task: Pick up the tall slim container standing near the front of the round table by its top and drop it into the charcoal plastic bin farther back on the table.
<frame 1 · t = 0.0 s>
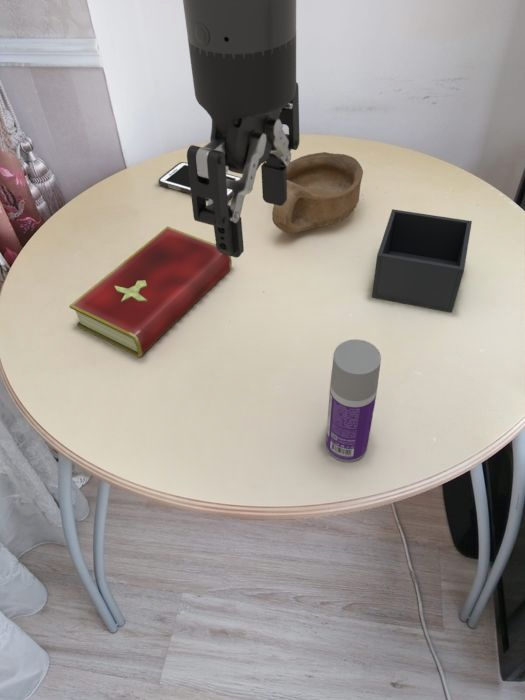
hand: (254, 226, 50), 25 cm above the table, tool pointing down, fingers open, 8 cm apart
cell phone: (202, 185, 103), on the table
hardcover book: (158, 298, 83), on the table
container: (346, 445, 64), on the table
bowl: (313, 220, 94), on the table
bin: (417, 280, 83), on the table
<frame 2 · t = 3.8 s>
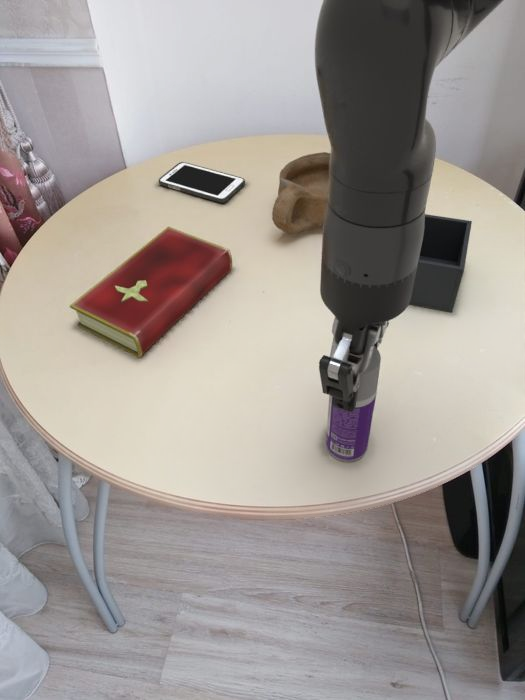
hand: (353, 387, 56), 10 cm above the table, tool pointing down, fingers closed on container, 4 cm apart
container: (346, 445, 64), on the table, touching gripper
everything else where it was.
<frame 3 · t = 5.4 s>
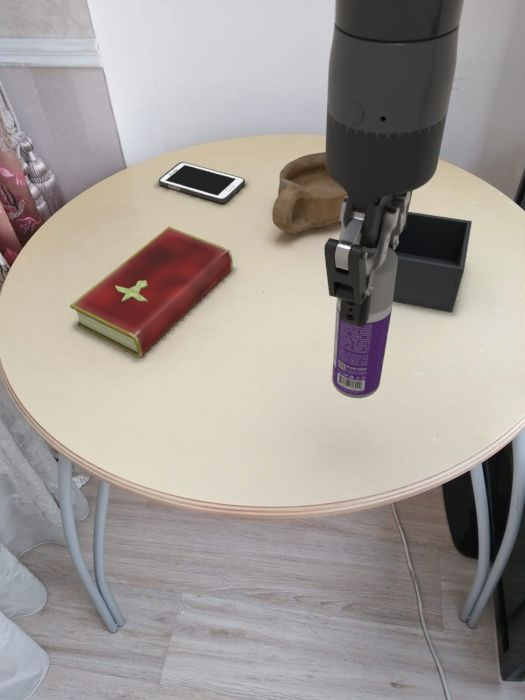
hand: (364, 301, 48), 22 cm above the table, tool pointing down, fingers closed on container, 4 cm apart
container: (355, 381, 55), point 11 cm above the table, touching gripper
everything else where it was.
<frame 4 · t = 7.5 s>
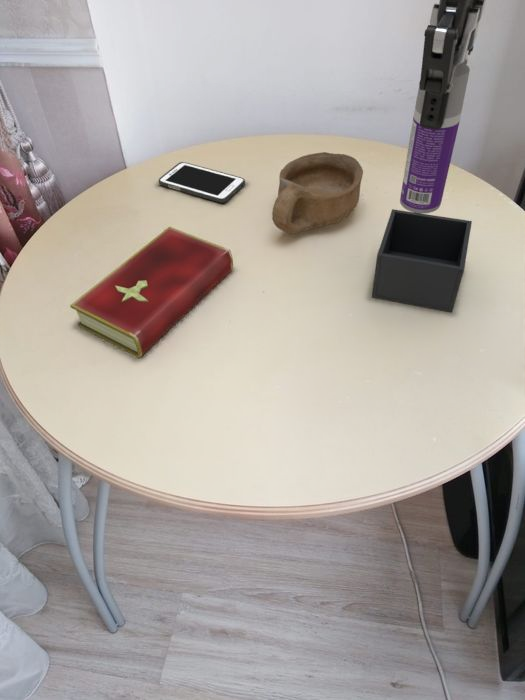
hand: (437, 115, 58), 28 cm above the table, tool pointing down, fingers closed on container, 4 cm apart
container: (419, 203, 66), point 17 cm above the table, touching gripper
everything else where it was.
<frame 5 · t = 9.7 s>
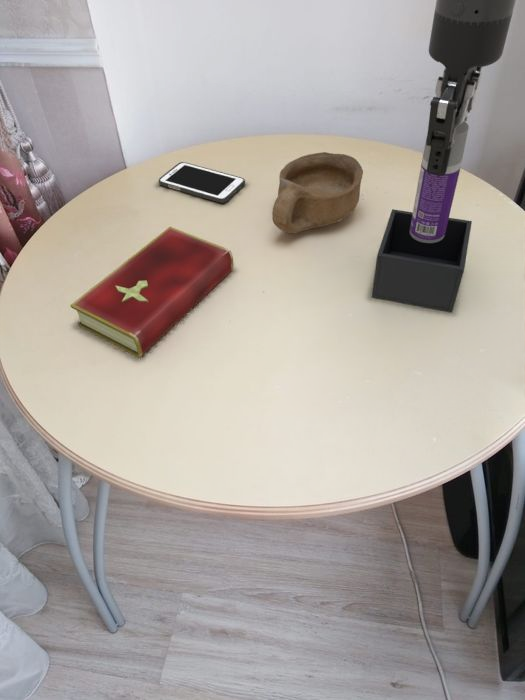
hand: (442, 162, 69), 19 cm above the table, tool pointing down, fingers closed on container, 4 cm apart
container: (426, 234, 76), point 8 cm above the table, touching gripper
everything else where it was.
when the fingers open (15 cm above the table, at t = 11.2 s): container drops 4 cm, resting on bin.
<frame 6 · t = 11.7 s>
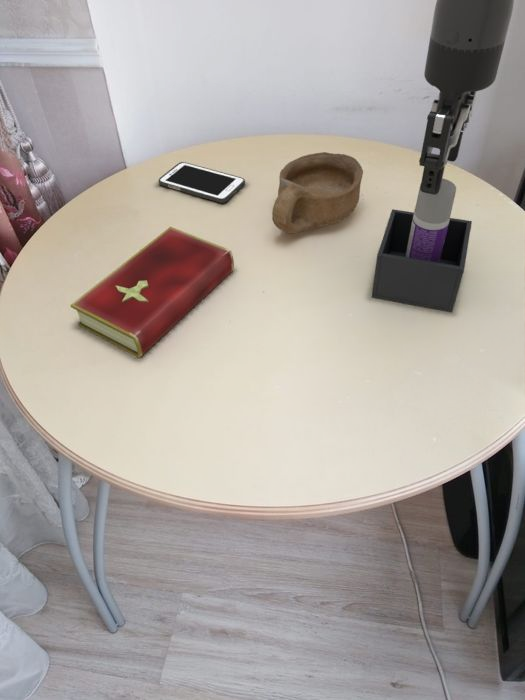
hand: (438, 175, 70), 17 cm above the table, tool pointing down, fingers open, 8 cm apart
container: (417, 279, 82), resting on bin
everything else where it was.
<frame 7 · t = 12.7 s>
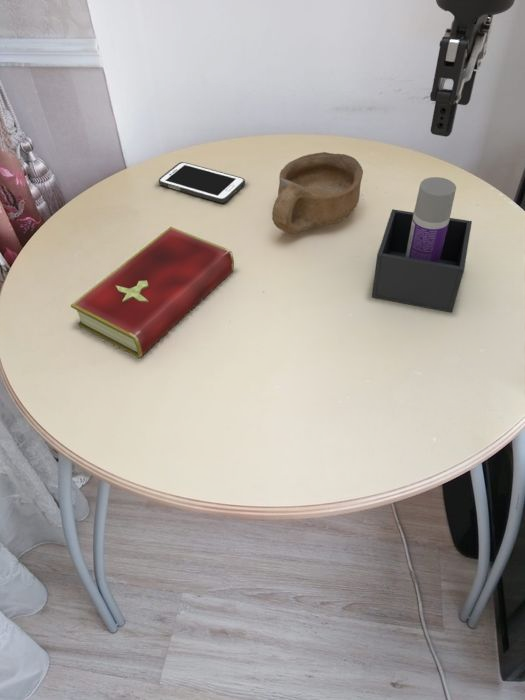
hand: (450, 118, 65), 24 cm above the table, tool pointing down, fingers open, 8 cm apart
nothing on the table moved.
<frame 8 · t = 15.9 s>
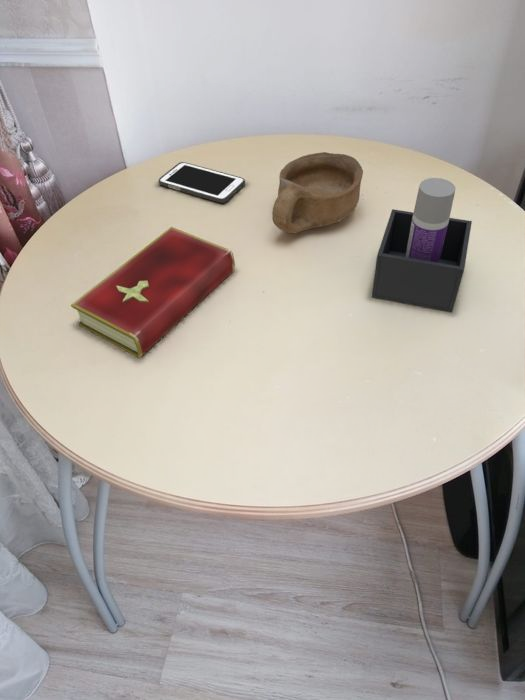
nothing on the table moved.
at the end: container inside the target area in the bin (0.4 cm from its centre), point 0.4 cm above the bin's base; the gripper is holding nothing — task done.
